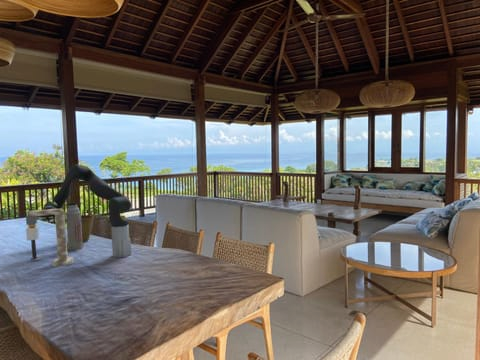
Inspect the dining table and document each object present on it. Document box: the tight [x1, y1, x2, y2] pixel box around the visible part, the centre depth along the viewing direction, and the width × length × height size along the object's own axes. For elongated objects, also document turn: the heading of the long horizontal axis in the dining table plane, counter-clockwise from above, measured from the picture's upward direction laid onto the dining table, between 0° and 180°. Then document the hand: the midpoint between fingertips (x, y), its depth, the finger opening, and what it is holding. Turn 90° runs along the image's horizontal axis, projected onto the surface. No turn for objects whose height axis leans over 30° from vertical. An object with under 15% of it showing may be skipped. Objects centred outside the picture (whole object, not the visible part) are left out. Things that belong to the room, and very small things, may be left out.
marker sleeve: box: [25, 225, 40, 241], centre depth 172 cm, size 5×5×6 cm
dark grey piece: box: [25, 215, 40, 263], centre depth 172 cm, size 4×4×24 cm
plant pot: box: [81, 214, 94, 243], centre depth 219 cm, size 15×15×16 cm
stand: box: [27, 208, 74, 267], centre depth 175 cm, size 18×9×29 cm, turn 112°
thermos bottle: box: [65, 202, 84, 251], centre depth 202 cm, size 8×8×28 cm
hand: (44, 217), depth 183 cm, fingers open, 8 cm apart
